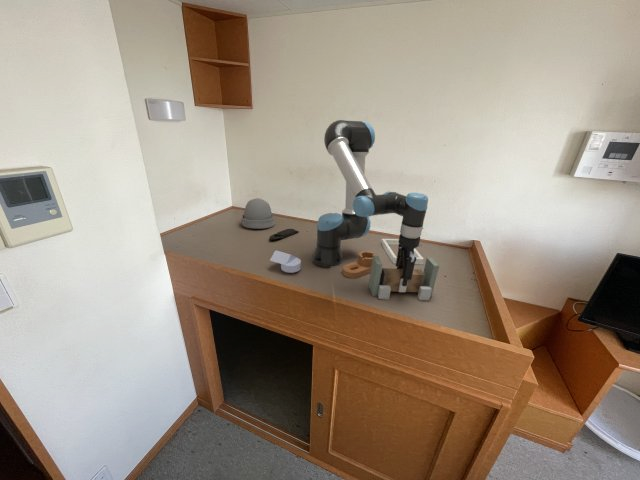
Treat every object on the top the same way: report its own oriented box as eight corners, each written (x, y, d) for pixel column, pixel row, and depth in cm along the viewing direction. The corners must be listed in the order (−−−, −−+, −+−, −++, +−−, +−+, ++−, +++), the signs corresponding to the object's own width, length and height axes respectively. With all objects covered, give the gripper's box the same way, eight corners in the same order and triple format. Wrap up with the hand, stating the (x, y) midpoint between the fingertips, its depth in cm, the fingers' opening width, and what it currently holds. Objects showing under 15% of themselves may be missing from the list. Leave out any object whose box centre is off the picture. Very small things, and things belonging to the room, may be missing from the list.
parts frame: (393, 263, 133) (394, 258, 132) (381, 243, 156) (381, 238, 155) (422, 264, 134) (424, 259, 133) (406, 244, 157) (407, 239, 156)
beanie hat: (276, 235, 180) (282, 206, 183) (265, 229, 159) (271, 196, 162) (248, 231, 184) (253, 203, 187) (233, 225, 163) (239, 193, 166)
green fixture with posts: (373, 299, 104) (378, 267, 99) (367, 282, 115) (371, 253, 110) (434, 300, 105) (442, 268, 100) (422, 283, 117) (429, 254, 111)
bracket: (365, 262, 133) (367, 249, 131) (378, 269, 127) (380, 256, 125) (338, 272, 123) (339, 258, 120) (351, 280, 117) (353, 266, 114)
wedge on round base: (269, 266, 124) (293, 274, 118) (269, 253, 121) (294, 260, 116) (281, 259, 131) (304, 266, 126) (281, 246, 129) (304, 253, 123)
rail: (381, 291, 108) (384, 273, 104) (379, 285, 112) (381, 268, 109) (421, 292, 108) (425, 274, 105) (416, 286, 112) (420, 269, 109)
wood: (290, 228, 169) (291, 224, 168) (299, 232, 166) (300, 228, 164) (263, 238, 153) (263, 233, 152) (272, 243, 149) (272, 238, 148)
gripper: (429, 244, 93) (416, 301, 102) (411, 227, 109) (402, 277, 118) (408, 244, 93) (397, 300, 102) (393, 226, 109) (385, 276, 118)
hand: (399, 287), depth 110 cm, fingers closed on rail, 4 cm apart
